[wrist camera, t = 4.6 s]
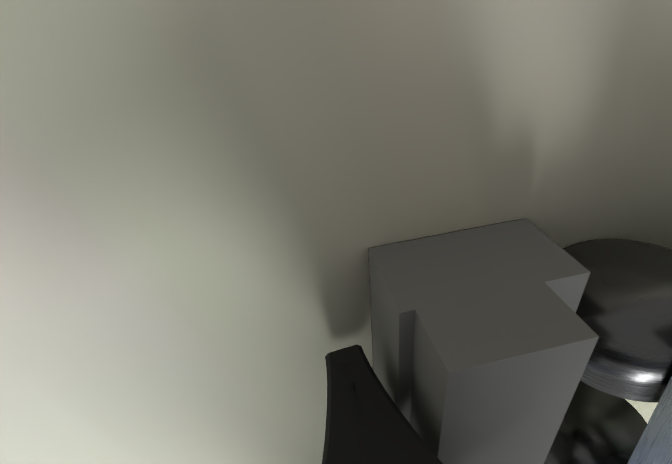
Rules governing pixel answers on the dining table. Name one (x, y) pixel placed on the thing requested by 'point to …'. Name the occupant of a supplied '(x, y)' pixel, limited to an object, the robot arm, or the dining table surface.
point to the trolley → (622, 358)
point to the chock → (480, 339)
